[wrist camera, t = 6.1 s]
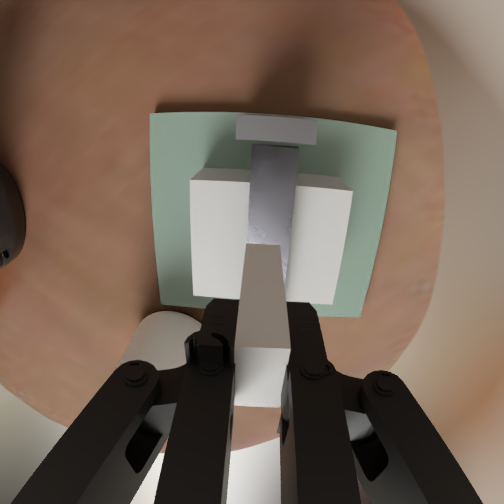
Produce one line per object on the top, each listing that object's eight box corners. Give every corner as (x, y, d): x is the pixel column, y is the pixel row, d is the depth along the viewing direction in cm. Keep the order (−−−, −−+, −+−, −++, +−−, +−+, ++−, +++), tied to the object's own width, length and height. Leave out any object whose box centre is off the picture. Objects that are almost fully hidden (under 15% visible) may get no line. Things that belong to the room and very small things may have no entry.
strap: (236, 332, 28) (234, 341, 27) (241, 142, 20) (240, 145, 19) (284, 335, 28) (284, 344, 27) (308, 147, 20) (310, 150, 19)
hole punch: (163, 298, 35) (139, 348, 27) (154, 113, 26) (112, 116, 18) (357, 311, 34) (376, 363, 26) (392, 129, 25) (436, 140, 18)
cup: (170, 290, 34) (140, 351, 25) (233, 343, 37) (224, 408, 28) (125, 332, 37) (95, 388, 28) (183, 376, 40) (167, 434, 31)
